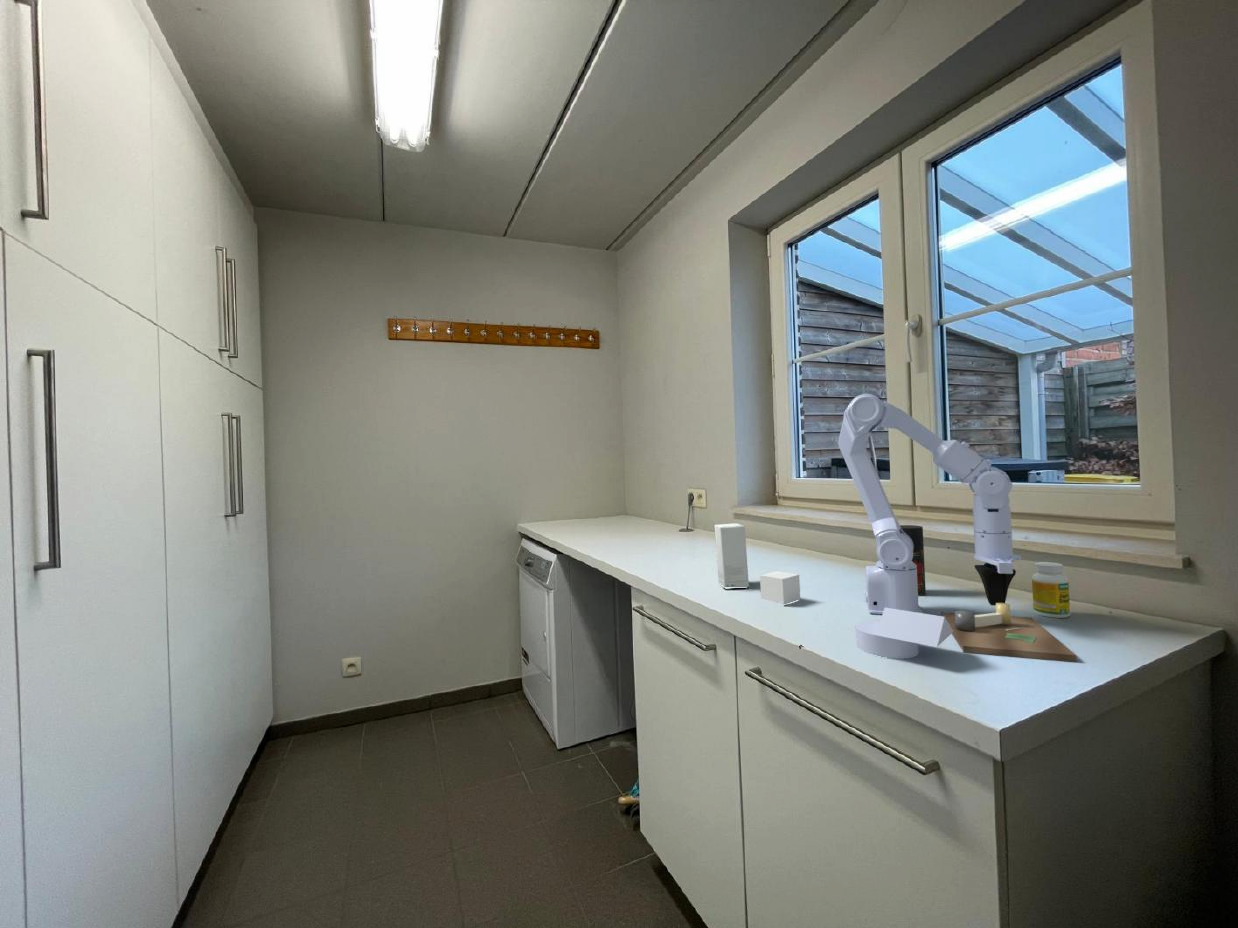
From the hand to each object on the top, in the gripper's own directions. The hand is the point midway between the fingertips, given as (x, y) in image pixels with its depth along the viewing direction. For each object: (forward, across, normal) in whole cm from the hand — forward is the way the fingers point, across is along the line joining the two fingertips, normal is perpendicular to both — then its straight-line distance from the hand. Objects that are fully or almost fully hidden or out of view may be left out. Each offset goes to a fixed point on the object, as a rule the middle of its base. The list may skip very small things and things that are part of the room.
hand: (996, 604), depth 95 cm
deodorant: (+3, +18, +12) cm, 22 cm away
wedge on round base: (+3, -22, +18) cm, 29 cm away
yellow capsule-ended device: (+2, -9, +4) cm, 10 cm away
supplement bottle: (+3, +6, -10) cm, 12 cm away
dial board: (+3, -10, +2) cm, 11 cm away
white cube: (+3, +4, +39) cm, 39 cm away
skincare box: (+3, +16, +52) cm, 55 cm away
